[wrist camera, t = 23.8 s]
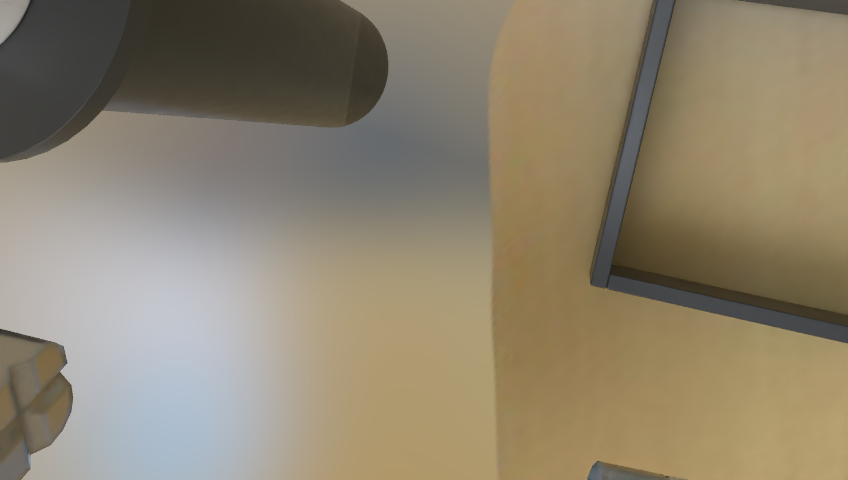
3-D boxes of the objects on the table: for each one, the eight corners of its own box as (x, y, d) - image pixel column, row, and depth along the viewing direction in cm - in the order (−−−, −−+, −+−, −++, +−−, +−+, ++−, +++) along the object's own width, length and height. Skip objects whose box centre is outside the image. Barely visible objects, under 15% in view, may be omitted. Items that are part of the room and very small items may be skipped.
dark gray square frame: (589, 274, 35) (589, 285, 32) (659, -27, 32) (667, -45, 29) (908, 345, 32) (941, 365, 29) (1018, 18, 29) (1066, 4, 26)
